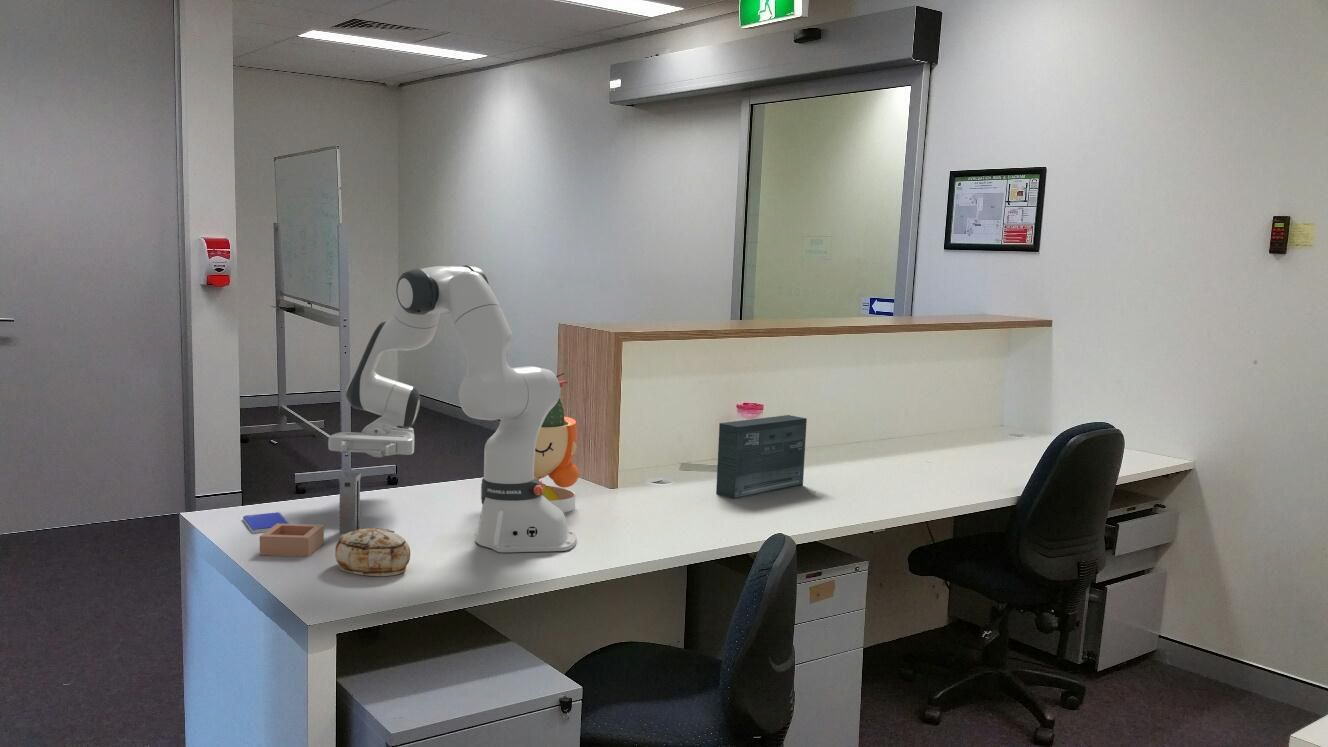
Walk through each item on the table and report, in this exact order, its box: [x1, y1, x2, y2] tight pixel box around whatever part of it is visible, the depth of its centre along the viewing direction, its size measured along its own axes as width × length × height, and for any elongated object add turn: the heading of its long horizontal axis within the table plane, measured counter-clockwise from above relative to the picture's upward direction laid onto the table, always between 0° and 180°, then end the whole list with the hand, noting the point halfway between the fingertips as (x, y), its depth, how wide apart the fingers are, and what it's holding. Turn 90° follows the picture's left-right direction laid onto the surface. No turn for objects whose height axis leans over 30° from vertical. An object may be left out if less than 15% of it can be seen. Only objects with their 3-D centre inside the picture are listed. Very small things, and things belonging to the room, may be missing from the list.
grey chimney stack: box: [338, 472, 362, 535], centre depth 224 cm, size 4×4×13 cm
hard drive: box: [242, 511, 290, 534], centre depth 229 cm, size 2×8×12 cm
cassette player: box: [715, 414, 808, 500], centre depth 282 cm, size 29×7×20 cm, turn 133°
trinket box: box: [334, 527, 411, 577], centre depth 200 cm, size 13×15×8 cm
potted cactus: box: [498, 372, 580, 514], centre depth 256 cm, size 22×22×35 cm
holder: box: [259, 523, 325, 557], centre depth 211 cm, size 10×10×4 cm
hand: (363, 449), depth 236 cm, fingers open, 8 cm apart
